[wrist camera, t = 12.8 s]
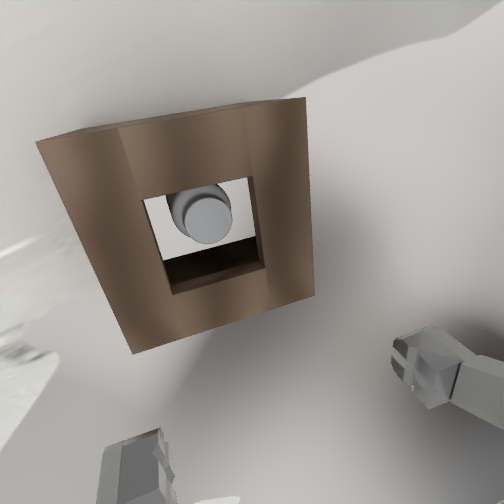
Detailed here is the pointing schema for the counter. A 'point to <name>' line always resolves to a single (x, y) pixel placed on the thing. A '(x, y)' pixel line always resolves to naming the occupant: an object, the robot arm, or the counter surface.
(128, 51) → the counter surface
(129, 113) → the counter surface
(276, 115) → the box
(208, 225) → the supplement bottle
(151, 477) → the robot arm
